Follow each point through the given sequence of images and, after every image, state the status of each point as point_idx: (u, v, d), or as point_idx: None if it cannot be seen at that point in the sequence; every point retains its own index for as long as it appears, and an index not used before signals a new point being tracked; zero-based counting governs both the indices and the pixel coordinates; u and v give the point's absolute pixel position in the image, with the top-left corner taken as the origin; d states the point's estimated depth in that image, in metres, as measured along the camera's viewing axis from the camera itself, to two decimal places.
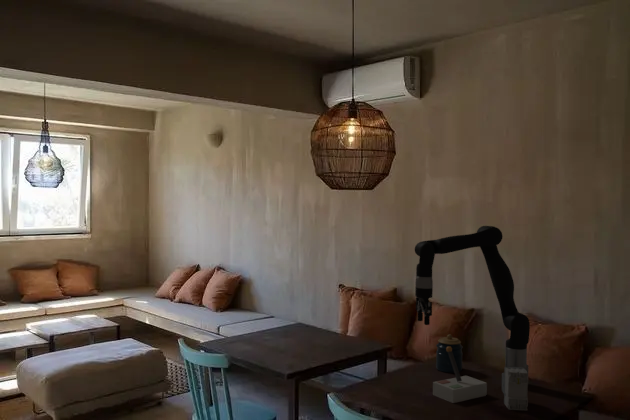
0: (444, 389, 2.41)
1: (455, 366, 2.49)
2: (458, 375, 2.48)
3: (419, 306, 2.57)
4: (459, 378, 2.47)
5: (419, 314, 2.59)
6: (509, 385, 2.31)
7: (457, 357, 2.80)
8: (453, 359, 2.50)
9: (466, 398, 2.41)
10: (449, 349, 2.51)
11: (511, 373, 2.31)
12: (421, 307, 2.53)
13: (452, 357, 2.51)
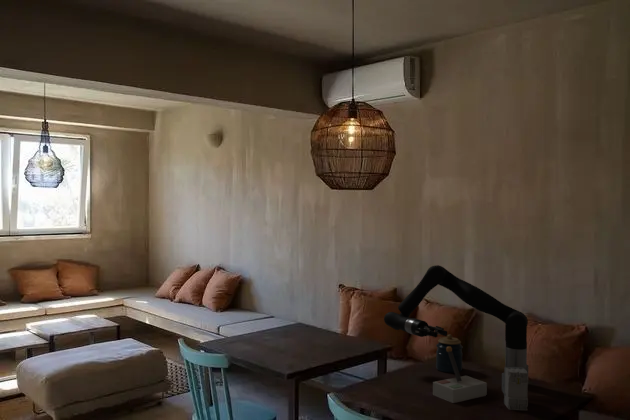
0: (444, 389, 2.41)
1: (455, 366, 2.49)
2: (458, 375, 2.48)
3: None
4: (459, 378, 2.47)
5: (441, 333, 2.60)
6: (509, 385, 2.31)
7: (457, 357, 2.80)
8: (453, 359, 2.50)
9: (466, 398, 2.41)
10: (449, 349, 2.51)
11: (511, 373, 2.31)
12: None
13: (452, 357, 2.51)
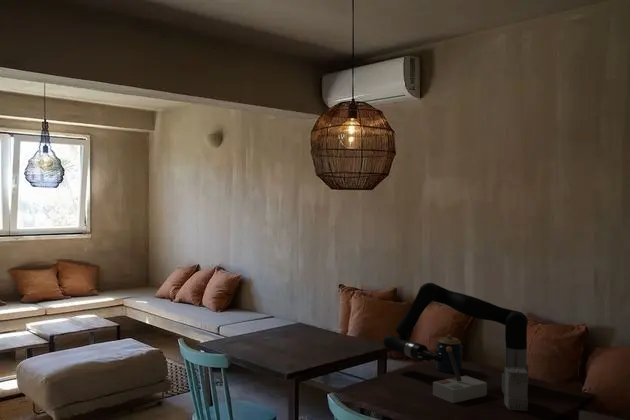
0: (444, 389, 2.41)
1: (455, 366, 2.49)
2: (458, 375, 2.48)
3: None
4: (459, 378, 2.47)
5: None
6: (509, 385, 2.31)
7: (457, 357, 2.80)
8: (453, 359, 2.50)
9: (466, 398, 2.41)
10: (449, 349, 2.51)
11: (511, 373, 2.31)
12: (427, 359, 2.63)
13: (452, 357, 2.51)
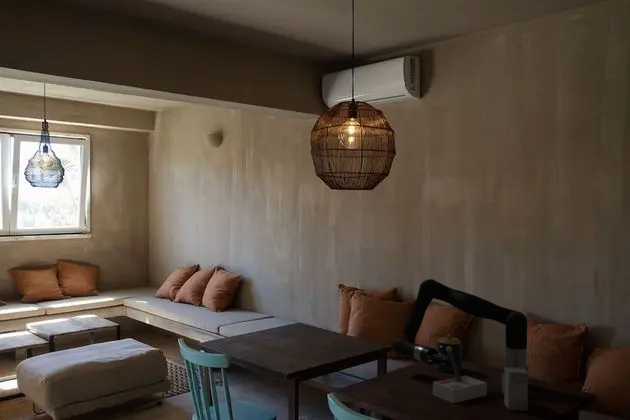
0: (444, 389, 2.41)
1: (455, 366, 2.49)
2: (458, 375, 2.48)
3: None
4: (459, 378, 2.47)
5: None
6: (509, 385, 2.31)
7: (457, 357, 2.80)
8: (453, 359, 2.50)
9: (466, 398, 2.41)
10: (449, 349, 2.51)
11: (511, 373, 2.31)
12: (438, 363, 2.58)
13: (452, 357, 2.51)
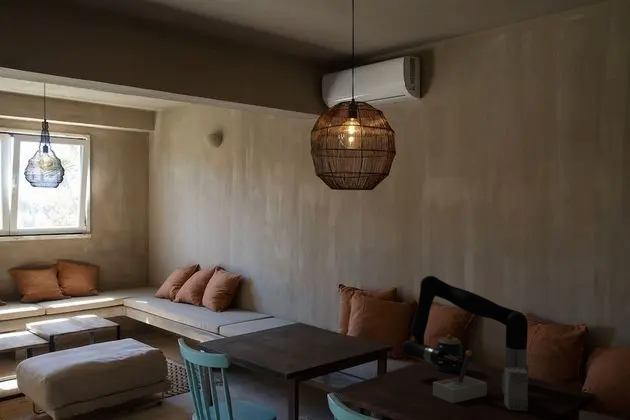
0: (444, 389, 2.41)
1: (464, 369, 2.44)
2: (462, 377, 2.46)
3: None
4: (461, 380, 2.46)
5: None
6: (509, 385, 2.31)
7: None
8: (466, 363, 2.44)
9: (466, 398, 2.41)
10: (469, 355, 2.42)
11: (511, 373, 2.31)
12: None
13: (467, 361, 2.43)
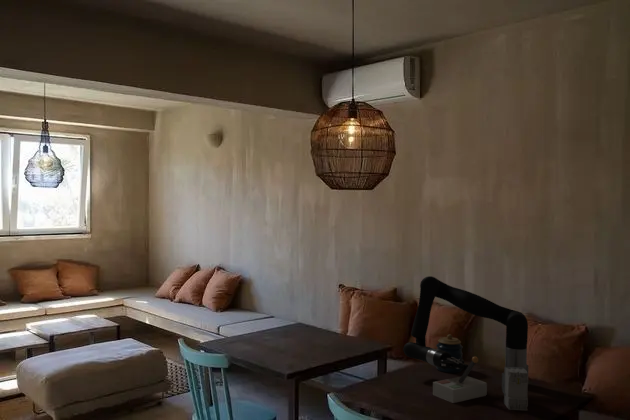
0: (444, 389, 2.41)
1: (467, 373, 2.43)
2: (463, 379, 2.45)
3: None
4: (462, 381, 2.46)
5: None
6: (509, 385, 2.31)
7: (457, 357, 2.80)
8: (471, 368, 2.42)
9: (466, 398, 2.41)
10: (475, 362, 2.39)
11: (511, 373, 2.31)
12: (451, 367, 2.50)
13: (471, 366, 2.41)
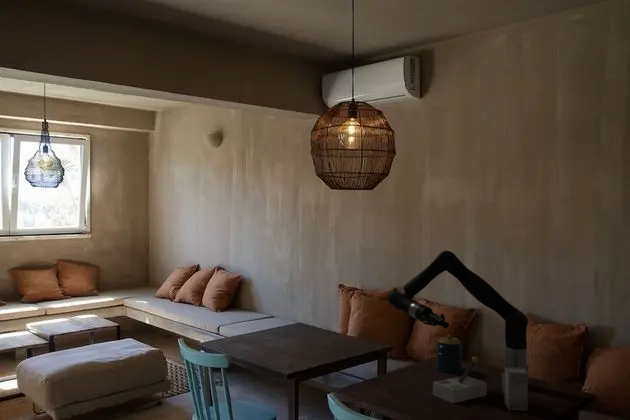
0: (444, 389, 2.41)
1: (467, 373, 2.43)
2: (463, 379, 2.45)
3: None
4: (462, 381, 2.46)
5: None
6: (509, 385, 2.31)
7: (457, 357, 2.80)
8: (471, 368, 2.42)
9: (466, 398, 2.41)
10: (475, 362, 2.39)
11: (511, 373, 2.31)
12: None
13: (471, 366, 2.41)
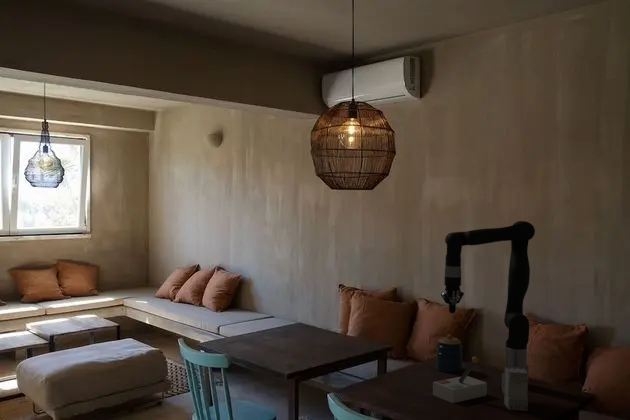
0: (444, 389, 2.41)
1: (467, 373, 2.43)
2: (463, 379, 2.45)
3: None
4: (462, 381, 2.46)
5: None
6: (509, 385, 2.31)
7: (457, 357, 2.80)
8: (471, 368, 2.42)
9: (466, 398, 2.41)
10: (475, 362, 2.39)
11: (511, 373, 2.31)
12: None
13: (471, 366, 2.41)
